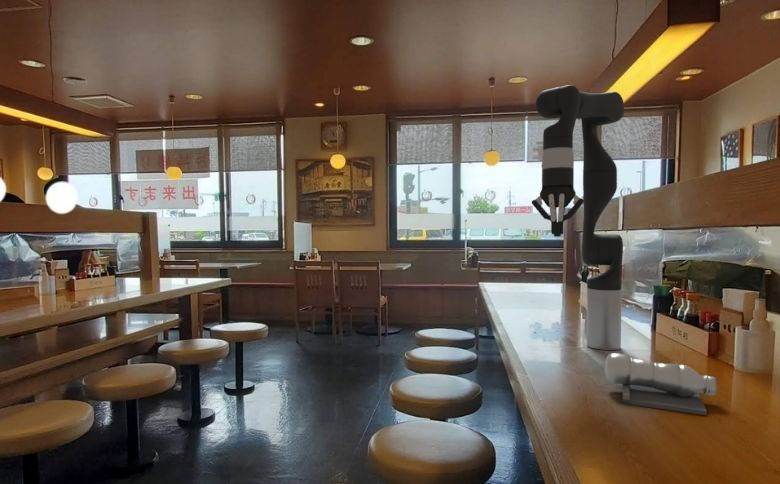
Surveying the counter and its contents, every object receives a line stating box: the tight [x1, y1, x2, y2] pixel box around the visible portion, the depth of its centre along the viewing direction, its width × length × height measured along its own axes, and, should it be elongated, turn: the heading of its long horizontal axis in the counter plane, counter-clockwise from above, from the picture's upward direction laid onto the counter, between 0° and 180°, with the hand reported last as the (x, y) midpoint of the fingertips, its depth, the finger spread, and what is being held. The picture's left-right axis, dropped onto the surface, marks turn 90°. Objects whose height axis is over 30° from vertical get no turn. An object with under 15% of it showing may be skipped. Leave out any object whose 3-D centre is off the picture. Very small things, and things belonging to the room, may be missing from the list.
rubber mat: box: [622, 384, 708, 416], centre depth 96 cm, size 15×14×2 cm
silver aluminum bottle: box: [603, 352, 718, 397], centre depth 97 cm, size 6×7×20 cm
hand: (557, 236), depth 117 cm, fingers closed
